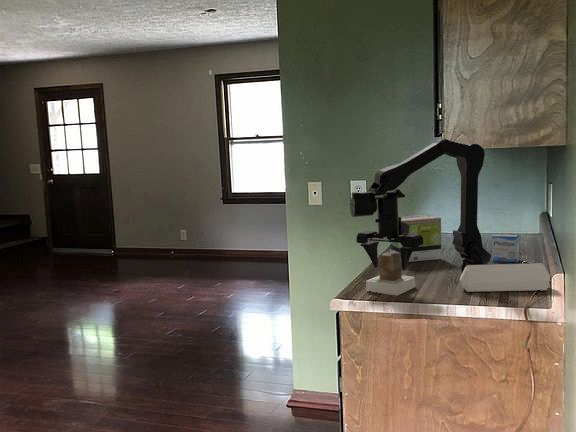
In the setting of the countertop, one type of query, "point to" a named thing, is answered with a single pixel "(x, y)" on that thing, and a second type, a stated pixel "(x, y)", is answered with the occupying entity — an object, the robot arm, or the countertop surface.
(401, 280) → the base slab
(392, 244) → the tea box
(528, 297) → the countertop surface
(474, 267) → the crystal
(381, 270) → the walnut block
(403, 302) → the countertop surface
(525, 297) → the countertop surface
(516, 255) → the medicine box
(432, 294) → the countertop surface
